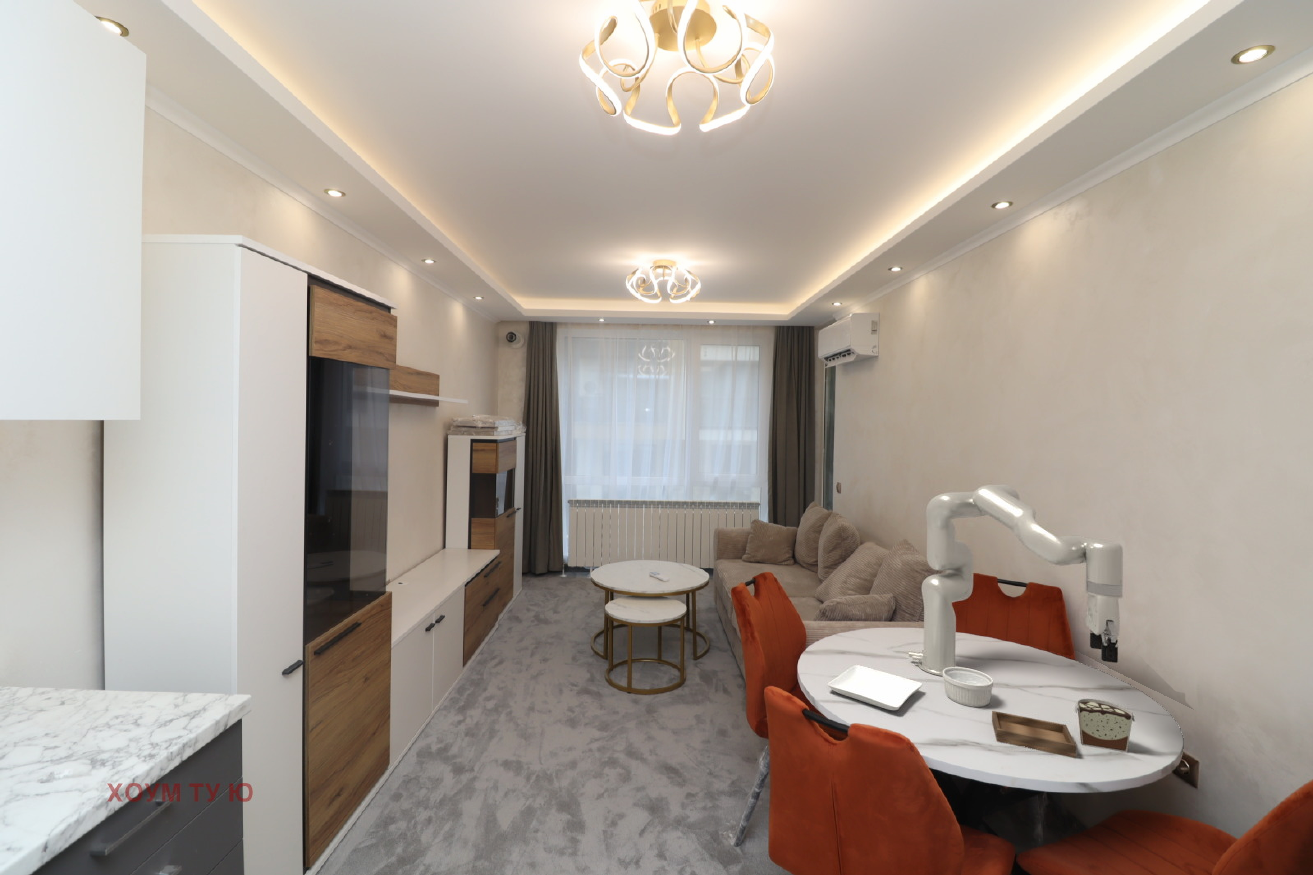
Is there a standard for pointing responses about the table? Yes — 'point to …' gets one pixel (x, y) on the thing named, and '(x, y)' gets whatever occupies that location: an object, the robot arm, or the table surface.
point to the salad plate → (874, 687)
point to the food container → (1104, 724)
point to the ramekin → (967, 686)
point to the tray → (1033, 734)
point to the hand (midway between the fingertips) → (1103, 654)
